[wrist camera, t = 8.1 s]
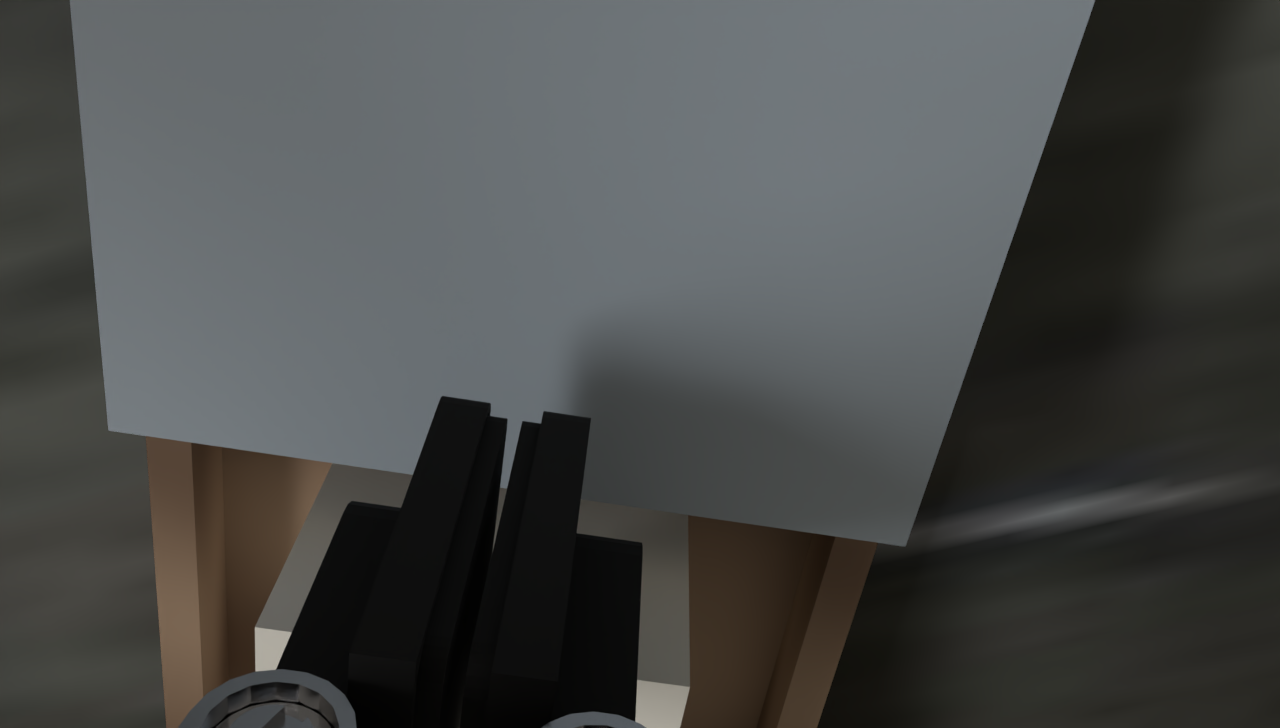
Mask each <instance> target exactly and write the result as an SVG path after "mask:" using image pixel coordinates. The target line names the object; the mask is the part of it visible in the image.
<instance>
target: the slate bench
mask: <svg viewBox="0 0 1280 728" xmlns="http://www.w3.org/2000/svg"><path fill="white" fill-rule="evenodd" d="M1094 2H1095V0H70V9H71V20H72V31H73V42H74V53H75V64H76V75H77V86H78V98H79V109H80V120H81V131H82V142H83V153H84V164H85V175H86V186H87V197H88V209H89V220H90V231H91V242H92V253H93V264H94V275H95V286H96V297H97V308H98V319H99V331H100V342H101V353H102V364H103V375H104V386H105V397H106V408H107V419H108V430H109V431H115V432H122V433H129V434H136V435H143V436H150V437H157V438H163V439H170V440H177V441H184V442H191V443H198V444H205V445H211V446H218V447H225V448H232V449H239V450H246V451H253V452H259V453H266V454H273V455H280V456H287V457H294V458H301V459H307V460H314V461H321V462H328V463H335V464H342V465H349V466H355V467H362V468H369V469H376V470H383V471H390V472H397V473H403V474H410V475H413V473H414V470H415V467H416V465H417V462H418V459H419V456H420V453H421V451H422V448H423V445H424V442H425V439H426V437H427V434H428V431H429V428H430V425H431V423H432V420H433V417H434V414H435V412H436V409H437V406H438V403H439V401H440V398H441V397H442V396H447V397H454V398H460V399H467V400H474V401H481V402H487V403H491V414H490V416H494V417H500V418H507V420H508V422H507V433H506V441H505V450H504V458H503V467H502V475H501V484H500V488H506V489H507V486H508V482H509V478H510V473H511V469H512V464H513V460H514V456H515V451H516V447H517V442H518V438H519V434H520V429H521V425H522V421H527V422H534V423H541V421H542V416H543V412H544V411H547V412H554V413H561V414H568V415H574V416H581V417H588V418H591V423H590V431H589V439H588V447H587V455H586V463H585V470H584V478H583V486H582V494H581V499H582V500H589V501H595V502H602V503H609V504H616V505H623V506H630V507H637V508H643V509H650V510H657V511H664V512H671V513H678V514H685V515H692V516H698V517H705V518H712V519H719V520H726V521H733V522H740V523H746V524H753V525H760V526H767V527H774V528H781V529H788V530H794V531H801V532H808V533H815V534H822V535H829V536H836V537H842V538H849V539H856V540H863V541H870V542H877V543H884V544H890V545H897V546H904V547H906V544H907V541H908V538H909V535H910V532H911V529H912V526H913V524H914V521H915V518H916V515H917V512H918V509H919V506H920V503H921V501H922V498H923V495H924V492H925V489H926V486H927V483H928V480H929V477H930V475H931V472H932V469H933V466H934V463H935V460H936V457H937V454H938V452H939V449H940V446H941V443H942V440H943V437H944V434H945V431H946V429H947V426H948V423H949V420H950V417H951V414H952V411H953V408H954V406H955V403H956V400H957V397H958V394H959V391H960V388H961V385H962V382H963V380H964V377H965V374H966V371H967V368H968V365H969V362H970V359H971V357H972V354H973V351H974V348H975V345H976V342H977V339H978V336H979V334H980V331H981V328H982V325H983V322H984V319H985V316H986V313H987V310H988V308H989V305H990V302H991V299H992V296H993V293H994V290H995V287H996V285H997V282H998V279H999V276H1000V273H1001V270H1002V267H1003V264H1004V262H1005V259H1006V256H1007V253H1008V250H1009V247H1010V244H1011V241H1012V239H1013V236H1014V233H1015V230H1016V227H1017V224H1018V221H1019V218H1020V215H1021V213H1022V210H1023V207H1024V204H1025V201H1026V198H1027V195H1028V192H1029V190H1030V187H1031V184H1032V181H1033V178H1034V175H1035V172H1036V169H1037V167H1038V164H1039V161H1040V158H1041V155H1042V152H1043V149H1044V146H1045V143H1046V141H1047V138H1048V135H1049V132H1050V129H1051V126H1052V123H1053V120H1054V118H1055V115H1056V112H1057V109H1058V106H1059V103H1060V100H1061V97H1062V95H1063V92H1064V89H1065V86H1066V83H1067V80H1068V77H1069V74H1070V72H1071V69H1072V66H1073V63H1074V60H1075V57H1076V54H1077V51H1078V48H1079V46H1080V43H1081V40H1082V37H1083V34H1084V31H1085V28H1086V25H1087V23H1088V20H1089V17H1090V14H1091V11H1092V8H1093V5H1094Z"/></svg>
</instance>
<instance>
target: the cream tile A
mask: <svg viewBox="0 0 1280 728" xmlns="http://www.w3.org/2000/svg"><path fill="white" fill-rule="evenodd" d="M412 476H413V475H410V474H403V473H397V472H390V471H383V470H376V469H369V468H362V467H355V466H349V465H342V464H335V463H332V465H331V467H330V470H329V472H328V474H327V476H326V478H325V480H324V482H323V484H322V486H321V489H320V491H319V493H318V495H317V497H316V499H315V501H314V503H313V505H312V508H311V510H310V512H309V514H308V516H307V518H306V520H305V522H304V524H303V527H302V529H301V531H300V533H299V535H298V537H297V539H296V541H295V543H294V545H293V548H292V550H291V552H290V554H289V556H288V558H287V560H286V562H285V564H284V567H283V569H282V571H281V573H280V575H279V577H278V579H277V581H276V583H275V586H274V588H273V590H272V592H271V594H270V596H269V598H268V600H267V602H266V605H265V607H264V609H263V611H262V613H261V615H260V617H259V619H258V621H257V624H256V626H255V672H257V671H267V670H276V668H277V666H278V663H279V661H280V659H281V656H282V654H283V652H284V649H285V647H286V645H287V642H288V640H289V638H290V635H291V633H292V631H293V628H294V626H295V624H296V621H297V619H298V617H299V614H300V612H301V610H302V607H303V605H304V603H305V600H306V598H307V596H308V594H309V591H310V589H311V587H312V584H313V582H314V580H315V577H316V575H317V573H318V570H319V568H320V566H321V563H322V561H323V559H324V556H325V554H326V552H327V549H328V547H329V545H330V542H331V540H332V538H333V535H334V533H335V531H336V528H337V526H338V524H339V521H340V519H341V517H342V514H343V512H344V510H345V508H346V507H347V505H348V503H350V502H351V501H357V502H364V503H371V504H378V505H385V506H392V507H399V508H401V507H402V504H403V501H404V498H405V495H406V493H407V490H408V487H409V484H410V481H411V479H412ZM506 491H507V489H506V488H500V492H499V501H498V509H497V518H496V526H495V535H494V543H493V548H494V544H495V539H496V535H497V531H498V526H499V522H500V517H501V513H502V509H503V504H504V500H505V495H506ZM577 533H579V534H586V535H593V536H600V537H607V538H614V539H621V540H628V541H635V542H641V543H642V545H643V559H642V582H641V605H640V627H639V650H638V673H637V696H636V718H635V722H637V723H640V724H642V725H643V726H644V727H646V728H680V726H681V722H682V718H683V714H684V710H685V706H686V702H687V698H688V693H689V689H690V639H689V554H688V515H685V514H678V513H671V512H664V511H657V510H650V509H643V508H637V507H630V506H623V505H616V504H609V503H602V502H595V501H589V500H582V499H581V502H580V510H579V517H578V525H577ZM492 553H493V552H492Z"/></svg>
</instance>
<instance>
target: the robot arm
mask: <svg viewBox="0 0 1280 728" xmlns="http://www.w3.org/2000/svg"><path fill="white" fill-rule="evenodd" d="M490 414H491V403H487V402H481V401H474V400H467V399H460V398H454V397H447V396H442V397H441V398H440V401H439V403H438V406H437V409H436V412H435V414H434V417H433V420H432V423H431V425H430V428H429V431H428V434H427V437H426V439H425V442H424V445H423V448H422V451H421V453H420V456H419V459H418V462H417V465H416V467H415V470H414V473H413V476H412V479H411V481H410V484H409V487H408V490H407V493H406V495H405V498H404V501H403V504H402V507H401V508H399V507H392V506H385V505H378V504H371V503H364V502H357V501H351V502H350V503H348V505H347V507H346V508H345V510H344V512H343V514H342V517H341V519H340V521H339V524H338V526H337V528H336V531H335V533H334V535H333V538H332V540H331V542H330V545H329V547H328V549H327V552H326V554H325V556H324V559H323V561H322V563H321V566H320V568H319V570H318V573H317V575H316V577H315V580H314V582H313V584H312V587H311V589H310V591H309V594H308V596H307V598H306V600H305V603H304V605H303V607H302V610H301V612H300V614H299V617H298V619H297V621H296V624H295V626H294V628H293V631H292V633H291V635H290V638H289V640H288V642H287V645H286V647H285V649H284V652H283V654H282V656H281V659H280V661H279V663H278V666H277V668H276V670H267V671H257V672H252V673H249V674H246V675H243V676H240V677H237V678H234V679H231V680H228V681H227V682H225V683H223V684H222V685H220V686H218V687H217V688H215V689H213V690H212V691H210V692H208V693H207V694H206V695H205V696H204V697H203V698H202V699H201V700H200V701H199V702H198V703H197V704H196V705H195V706H194V707H193V708H192V709H191V710H190V711H189V713H188V714H187V716H186V717H185V718H184V720H183V721H182V723H181V724H180V725H179V727H178V728H646V727H644V726H643V725H642V724H640V723H637V722H635V718H636V696H637V673H638V650H639V627H640V605H641V582H642V559H643V545H642V543H641V542H635V541H628V540H621V539H614V538H607V537H600V536H593V535H586V534H579V533H577V525H578V517H579V510H580V502H581V494H582V486H583V478H584V470H585V463H586V455H587V447H588V439H589V431H590V423H591V418H588V417H581V416H574V415H568V414H561V413H554V412H547V411H544V412H543V416H542V421H541V423H534V422H527V421H522V425H521V429H520V434H519V438H518V442H517V447H516V451H515V456H514V460H513V464H512V469H511V473H510V478H509V482H508V486H507V491H506V495H505V500H504V504H503V509H502V513H501V517H500V522H499V526H498V531H497V535H496V539H495V544H494V548H493V543H494V535H495V526H496V518H497V509H498V501H499V492H500V484H501V475H502V467H503V458H504V450H505V441H506V433H507V422H508V420H507V418H500V417H494V416H490ZM492 552H493V553H492Z"/></svg>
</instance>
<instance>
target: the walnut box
mask: <svg viewBox="0 0 1280 728" xmlns="http://www.w3.org/2000/svg"><path fill="white" fill-rule="evenodd" d="M146 446H147V460H148V474H149V488H150V502H151V516H152V530H153V545H154V559H155V573H156V587H157V601H158V615H159V629H160V643H161V658H162V672H163V686H164V700H165V714H166V728H178V727H179V725H180V724H181V723H182V721H183V720H184V718H185V717H186V716H187V714H188V713H189V711H190V710H191V709H192V708H193V707H194V706H195V705H196V704H197V703H198V702H199V701H200V700H201V699H202V698H203V697H204V696H205V695H206V694H207V693H208V692H210V691H212V690H213V689H215V688H217V687H218V686H220V685H222V684H223V683H225V682H227V681H228V680H231V679H234V678H237V677H240V676H243V675H246V674H249V673H252V672H255V626H256V624H257V621H258V619H259V617H260V615H261V613H262V611H263V609H264V607H265V605H266V602H267V600H268V598H269V596H270V594H271V592H272V590H273V588H274V586H275V583H276V581H277V579H278V577H279V575H280V573H281V571H282V569H283V567H284V564H285V562H286V560H287V558H288V556H289V554H290V552H291V550H292V548H293V545H294V543H295V541H296V539H297V537H298V535H299V533H300V531H301V529H302V527H303V524H304V522H305V520H306V518H307V516H308V514H309V512H310V510H311V508H312V505H313V503H314V501H315V499H316V497H317V495H318V493H319V491H320V489H321V486H322V484H323V482H324V480H325V478H326V476H327V474H328V472H329V470H330V467H331V465H332V463H328V462H321V461H314V460H307V459H301V458H294V457H287V456H280V455H273V454H266V453H259V452H253V451H246V450H239V449H232V448H225V447H218V446H211V445H205V444H198V443H191V442H184V441H177V440H170V439H163V438H157V437H150V436H146ZM877 545H878V543H877V542H870V541H863V540H856V539H849V538H842V537H836V536H829V535H822V534H815V533H808V532H801V531H794V530H788V529H781V528H774V527H767V526H760V525H753V524H746V523H740V522H733V521H726V520H719V519H712V518H705V517H698V516H692V515H688V554H689V639H690V689H689V693H688V698H687V702H686V706H685V710H684V714H683V718H682V722H681V726H680V728H817V726H818V723H819V720H820V717H821V714H822V711H823V708H824V705H825V702H826V699H827V696H828V693H829V690H830V687H831V684H832V681H833V678H834V675H835V672H836V669H837V666H838V663H839V660H840V656H841V653H842V650H843V647H844V644H845V641H846V638H847V635H848V632H849V629H850V626H851V623H852V620H853V617H854V614H855V611H856V608H857V605H858V602H859V599H860V596H861V593H862V590H863V587H864V584H865V581H866V578H867V575H868V572H869V569H870V566H871V563H872V560H873V557H874V554H875V551H876V548H877Z"/></svg>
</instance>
